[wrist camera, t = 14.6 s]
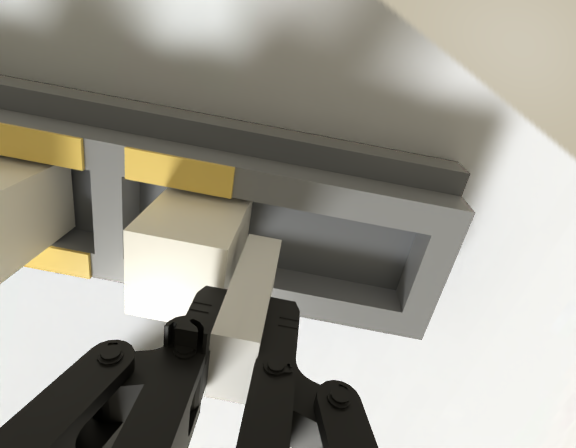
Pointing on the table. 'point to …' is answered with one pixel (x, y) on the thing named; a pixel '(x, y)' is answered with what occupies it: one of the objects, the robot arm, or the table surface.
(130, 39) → the table surface
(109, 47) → the table surface
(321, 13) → the table surface
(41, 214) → the tab
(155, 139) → the switch board
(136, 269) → the tab
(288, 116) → the table surface
